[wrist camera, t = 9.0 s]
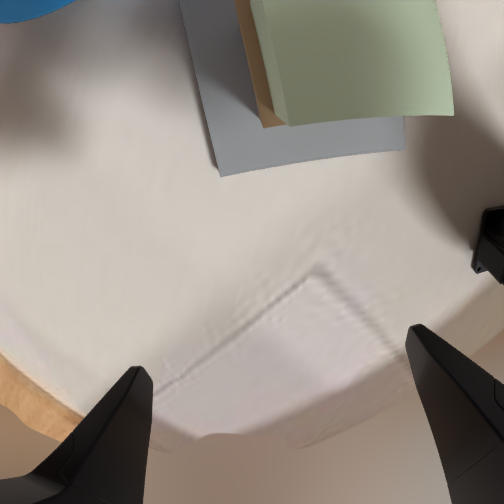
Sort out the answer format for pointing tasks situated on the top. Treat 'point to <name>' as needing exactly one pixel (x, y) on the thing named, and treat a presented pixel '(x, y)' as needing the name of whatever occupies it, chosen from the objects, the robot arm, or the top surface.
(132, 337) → the top surface
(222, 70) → the mat
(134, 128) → the top surface
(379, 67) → the sage cube
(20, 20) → the alarm clock
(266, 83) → the walnut block
